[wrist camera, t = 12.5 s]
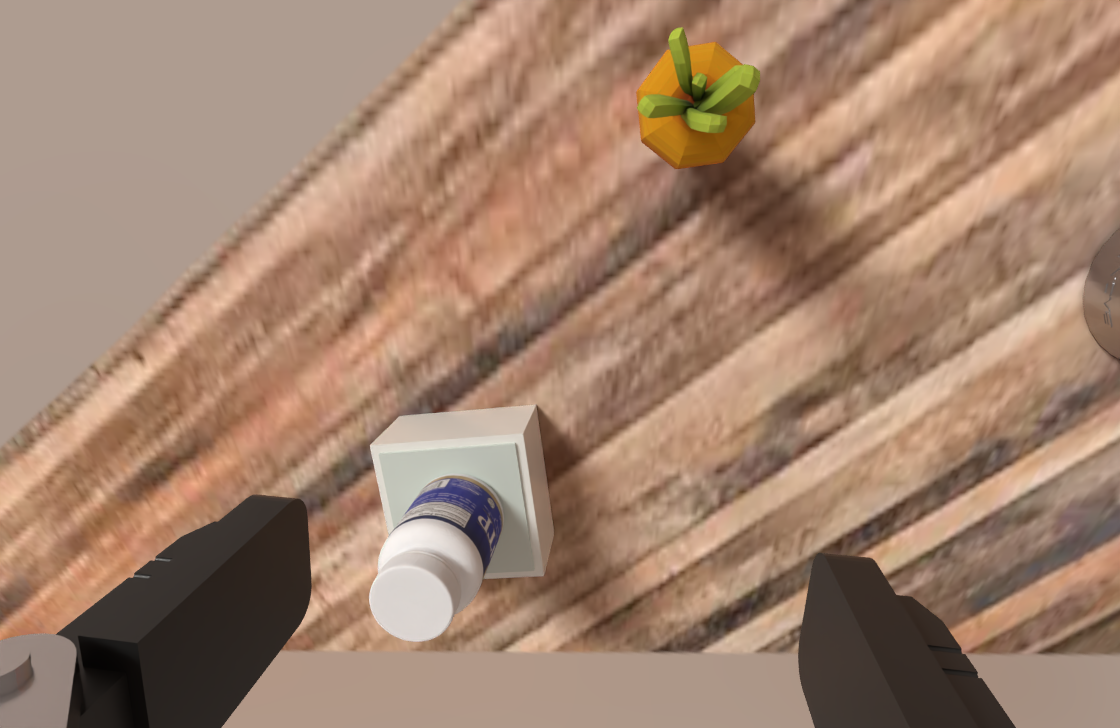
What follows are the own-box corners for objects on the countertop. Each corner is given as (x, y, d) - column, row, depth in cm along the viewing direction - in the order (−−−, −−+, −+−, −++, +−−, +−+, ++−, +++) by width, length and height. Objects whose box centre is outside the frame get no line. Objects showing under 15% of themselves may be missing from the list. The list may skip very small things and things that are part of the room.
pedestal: (536, 404, 42) (522, 434, 37) (554, 533, 44) (543, 578, 39) (399, 415, 43) (368, 446, 38) (424, 540, 45) (397, 584, 40)
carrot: (624, 160, 37) (615, 147, 23) (650, 67, 36) (657, -9, 22) (709, 183, 37) (754, 185, 23) (739, 91, 36) (807, 30, 21)
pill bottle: (503, 558, 39) (465, 663, 31) (416, 547, 40) (354, 647, 31) (507, 475, 38) (469, 561, 29) (417, 465, 38) (353, 547, 30)
